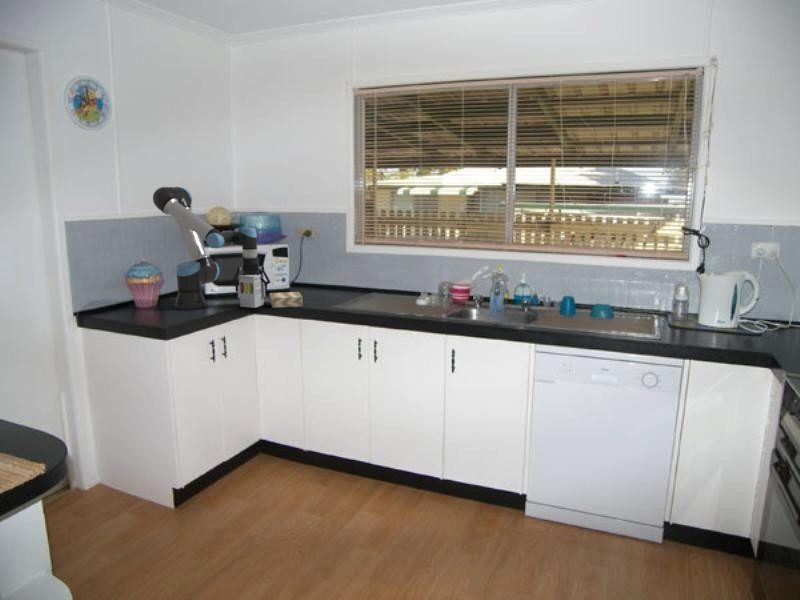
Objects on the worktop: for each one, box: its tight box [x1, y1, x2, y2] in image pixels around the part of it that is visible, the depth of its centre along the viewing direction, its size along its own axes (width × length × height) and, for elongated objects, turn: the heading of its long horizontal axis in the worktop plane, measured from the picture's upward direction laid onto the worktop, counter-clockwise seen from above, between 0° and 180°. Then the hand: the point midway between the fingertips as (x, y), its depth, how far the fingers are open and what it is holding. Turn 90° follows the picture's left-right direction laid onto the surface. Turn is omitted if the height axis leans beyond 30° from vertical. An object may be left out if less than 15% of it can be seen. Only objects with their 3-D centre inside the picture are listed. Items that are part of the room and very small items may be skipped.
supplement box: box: [238, 273, 265, 309], centre depth 300 cm, size 10×9×17 cm
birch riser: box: [269, 291, 304, 309], centre depth 307 cm, size 16×16×5 cm
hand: (251, 297), depth 301 cm, fingers closed on supplement box, 12 cm apart
